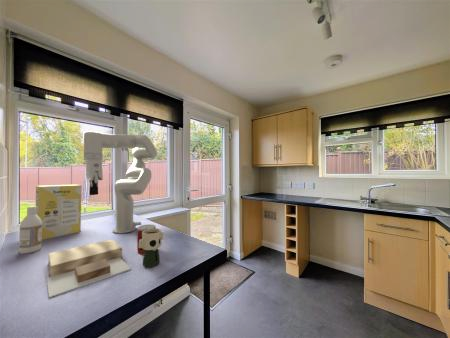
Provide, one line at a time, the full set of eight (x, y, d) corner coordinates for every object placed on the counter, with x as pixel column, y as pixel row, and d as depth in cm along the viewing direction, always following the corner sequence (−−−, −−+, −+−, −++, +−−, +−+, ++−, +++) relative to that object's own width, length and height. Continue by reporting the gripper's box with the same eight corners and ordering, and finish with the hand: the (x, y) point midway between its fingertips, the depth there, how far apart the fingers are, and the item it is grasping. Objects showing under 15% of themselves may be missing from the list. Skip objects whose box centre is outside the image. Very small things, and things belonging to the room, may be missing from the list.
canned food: (137, 255, 80) (138, 230, 80) (136, 249, 87) (137, 225, 87) (156, 252, 83) (156, 227, 84) (154, 246, 90) (154, 223, 91)
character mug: (144, 273, 66) (145, 236, 66) (132, 268, 70) (133, 233, 70) (168, 261, 75) (169, 228, 76) (156, 256, 79) (157, 226, 79)
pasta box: (75, 228, 118) (76, 184, 118) (80, 231, 111) (81, 185, 112) (34, 236, 103) (36, 185, 104) (37, 240, 97) (39, 186, 98)
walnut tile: (110, 265, 66) (110, 272, 66) (105, 259, 71) (105, 265, 71) (78, 275, 59) (78, 283, 59) (75, 267, 64) (74, 274, 64)
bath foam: (37, 252, 83) (38, 207, 83) (15, 255, 80) (16, 208, 80) (44, 246, 89) (45, 204, 89) (24, 249, 86) (25, 205, 86)
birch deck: (112, 247, 88) (112, 239, 88) (121, 257, 79) (122, 247, 79) (48, 263, 72) (48, 253, 73) (50, 277, 63) (51, 266, 63)
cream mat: (119, 258, 78) (119, 257, 78) (131, 269, 68) (131, 268, 68) (46, 279, 62) (46, 278, 62) (49, 298, 53) (49, 296, 53)
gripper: (106, 157, 88) (107, 195, 89) (98, 157, 98) (98, 192, 99) (87, 156, 83) (88, 197, 83) (80, 157, 93) (81, 193, 93)
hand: (93, 194), depth 91 cm, fingers closed
